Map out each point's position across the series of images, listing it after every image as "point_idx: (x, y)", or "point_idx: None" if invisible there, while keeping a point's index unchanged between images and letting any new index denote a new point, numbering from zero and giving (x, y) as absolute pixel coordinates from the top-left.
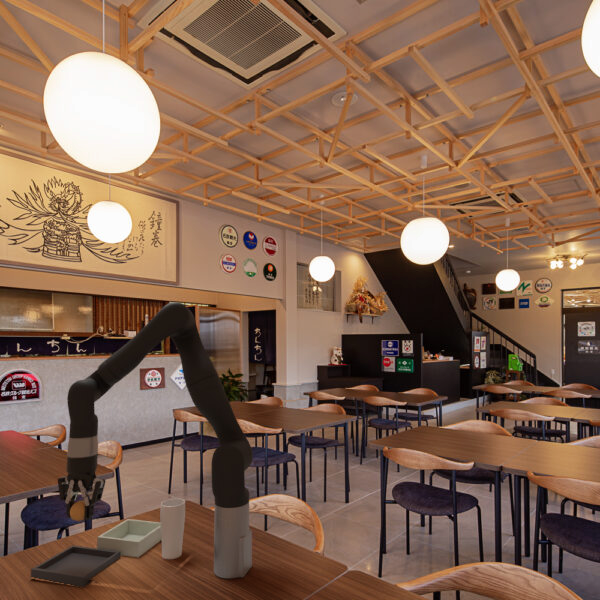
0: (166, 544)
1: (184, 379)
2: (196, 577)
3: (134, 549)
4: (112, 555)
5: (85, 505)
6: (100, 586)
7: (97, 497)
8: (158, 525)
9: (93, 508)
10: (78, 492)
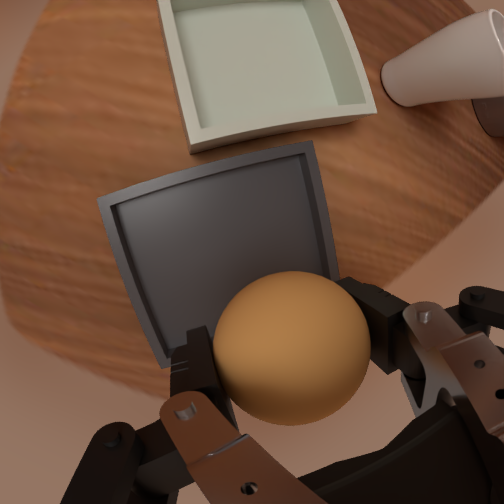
0: (437, 101)
1: None
2: (471, 145)
3: (350, 119)
4: (312, 174)
5: (368, 358)
6: (361, 269)
7: (489, 326)
8: None
9: (399, 301)
10: (251, 441)
